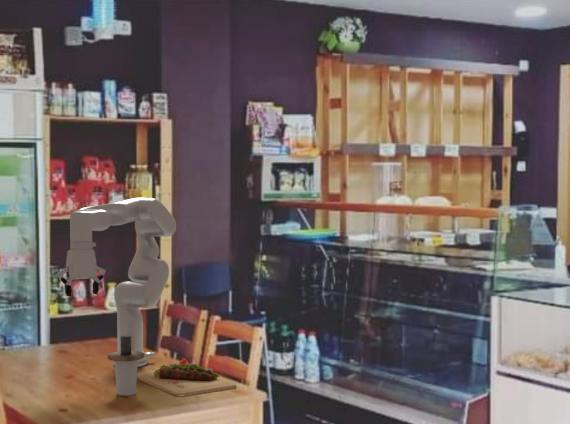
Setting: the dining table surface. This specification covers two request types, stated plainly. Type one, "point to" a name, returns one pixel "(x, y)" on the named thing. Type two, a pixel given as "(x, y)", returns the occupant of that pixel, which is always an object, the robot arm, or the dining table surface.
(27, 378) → the dining table surface
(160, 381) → the cutting board
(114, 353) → the lid
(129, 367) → the cup
